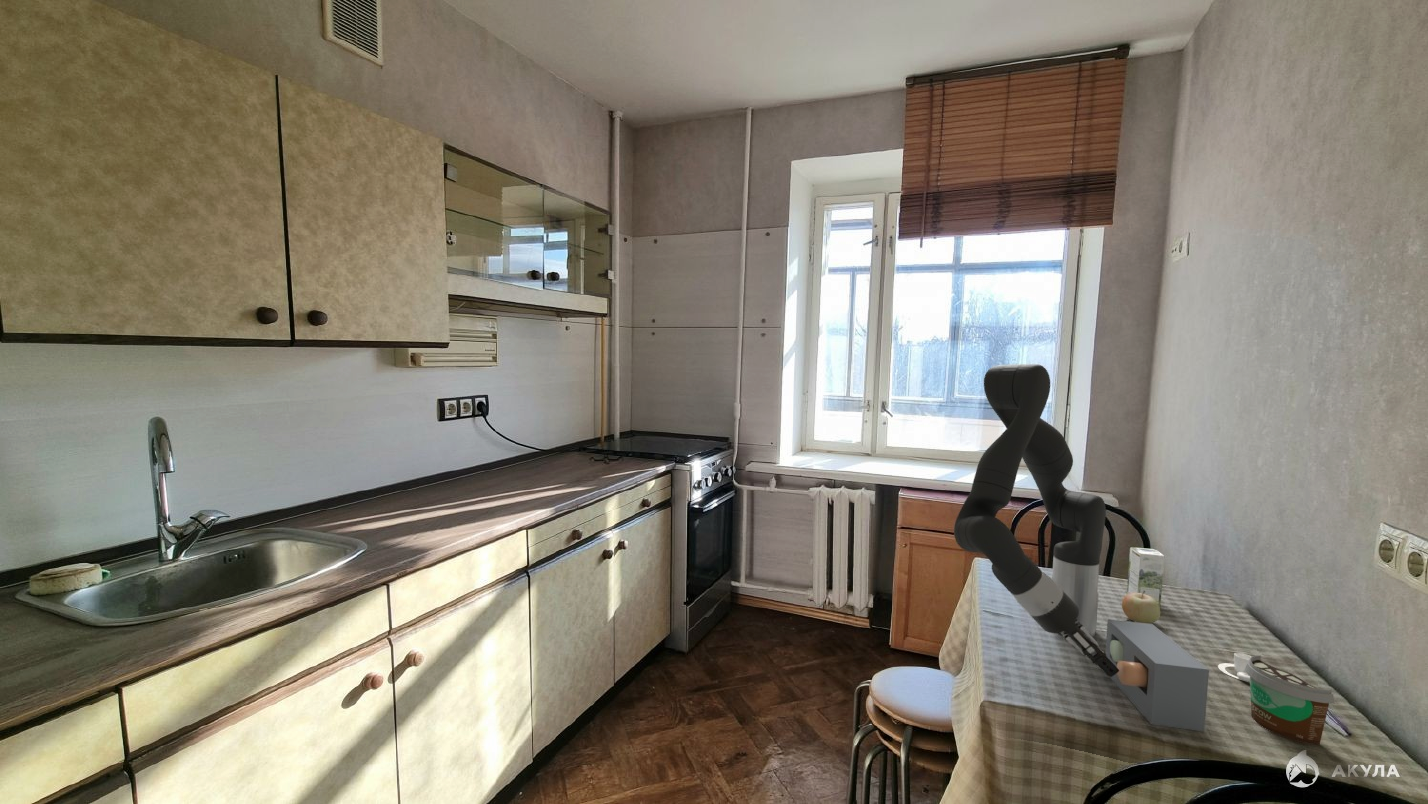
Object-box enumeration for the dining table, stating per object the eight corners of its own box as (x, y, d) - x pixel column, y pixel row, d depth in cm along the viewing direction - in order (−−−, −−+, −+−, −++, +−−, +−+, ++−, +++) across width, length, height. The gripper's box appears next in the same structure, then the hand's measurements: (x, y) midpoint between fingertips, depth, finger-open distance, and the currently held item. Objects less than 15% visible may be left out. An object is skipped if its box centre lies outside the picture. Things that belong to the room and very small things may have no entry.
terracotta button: (1126, 688, 102) (1128, 667, 101) (1116, 677, 106) (1117, 656, 105) (1152, 692, 101) (1153, 670, 101) (1140, 680, 105) (1141, 659, 104)
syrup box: (1149, 599, 155) (1153, 548, 154) (1161, 608, 149) (1165, 554, 148) (1125, 597, 156) (1129, 546, 155) (1136, 606, 150) (1140, 552, 149)
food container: (1222, 706, 105) (1226, 654, 104) (1252, 705, 105) (1257, 653, 105) (1296, 751, 92) (1301, 692, 92) (1330, 749, 93) (1335, 691, 92)
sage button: (1118, 665, 110) (1120, 645, 110) (1109, 655, 114) (1110, 636, 113) (1142, 668, 109) (1143, 648, 109) (1131, 658, 113) (1133, 638, 113)
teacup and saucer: (1261, 691, 111) (1263, 671, 111) (1210, 672, 118) (1211, 653, 117) (1276, 679, 116) (1277, 660, 115) (1225, 662, 122) (1227, 643, 122)
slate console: (1151, 724, 99) (1155, 663, 98) (1104, 671, 116) (1107, 619, 116) (1204, 731, 97) (1209, 669, 96) (1148, 676, 115) (1152, 623, 114)
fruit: (1147, 616, 144) (1149, 585, 143) (1165, 629, 137) (1167, 597, 136) (1114, 613, 145) (1116, 583, 145) (1130, 626, 138) (1132, 594, 137)
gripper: (1074, 601, 99) (1149, 679, 97) (1047, 575, 111) (1113, 643, 110) (1039, 627, 100) (1112, 704, 98) (1016, 598, 113) (1081, 665, 111)
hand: (1113, 672), depth 104 cm, fingers closed
